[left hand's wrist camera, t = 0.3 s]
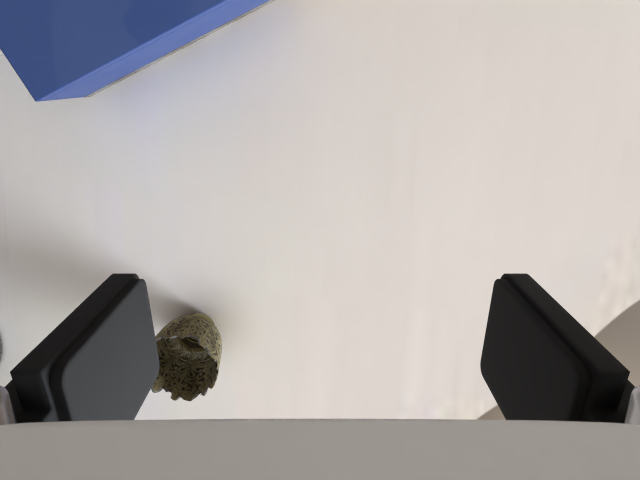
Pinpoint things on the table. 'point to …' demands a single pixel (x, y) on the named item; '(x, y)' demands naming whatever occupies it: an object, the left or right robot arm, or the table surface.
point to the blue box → (102, 38)
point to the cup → (188, 356)
